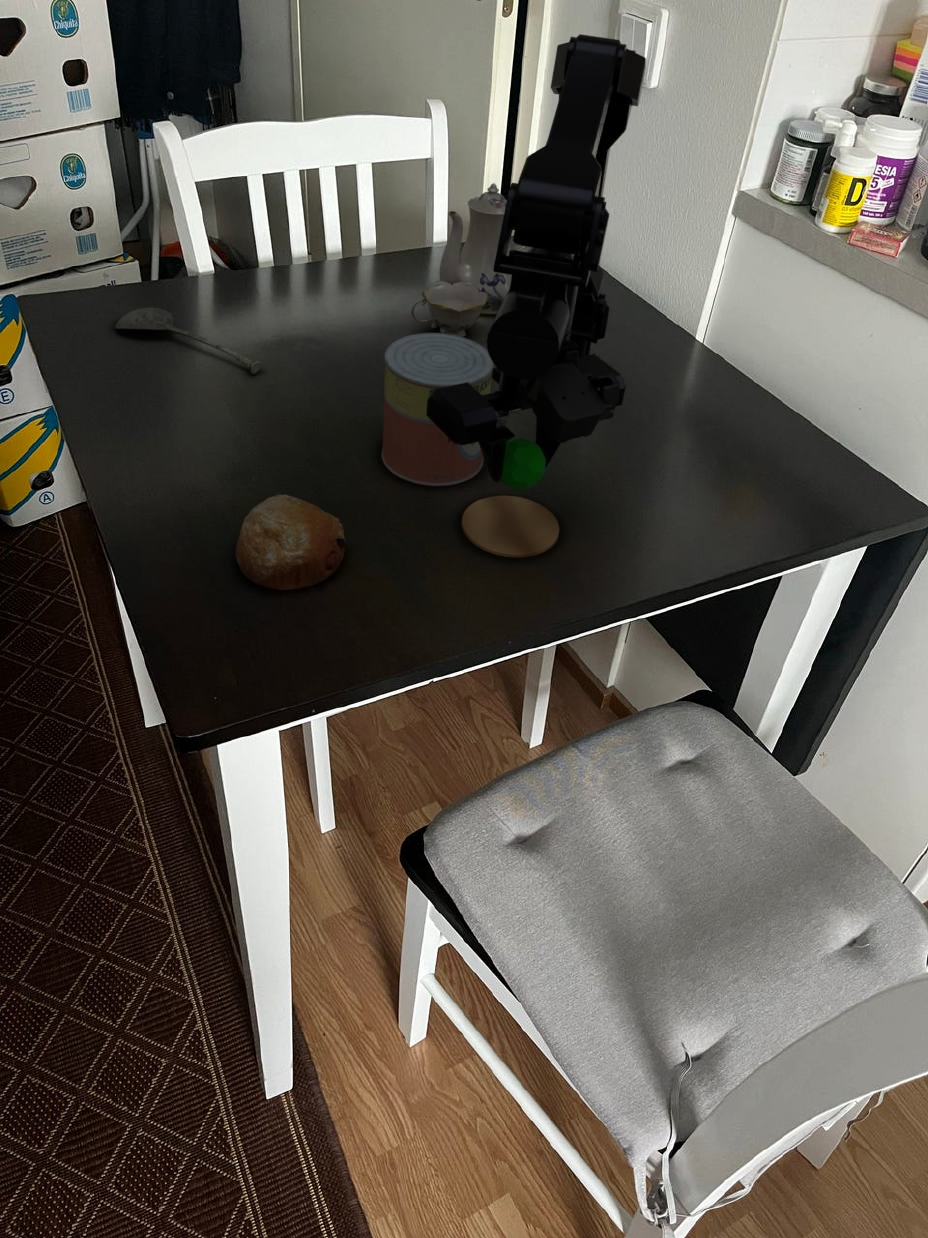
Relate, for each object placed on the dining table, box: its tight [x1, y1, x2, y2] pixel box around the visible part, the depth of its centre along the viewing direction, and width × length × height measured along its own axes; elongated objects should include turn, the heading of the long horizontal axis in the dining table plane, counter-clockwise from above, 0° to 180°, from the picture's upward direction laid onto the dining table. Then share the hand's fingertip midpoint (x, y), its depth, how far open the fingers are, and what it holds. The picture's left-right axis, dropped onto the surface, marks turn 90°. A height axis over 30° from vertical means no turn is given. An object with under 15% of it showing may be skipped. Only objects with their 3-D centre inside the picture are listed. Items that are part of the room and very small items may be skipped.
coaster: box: [461, 495, 560, 559], centre depth 101 cm, size 10×10×1 cm
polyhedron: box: [500, 437, 546, 491], centre depth 96 cm, size 5×5×5 cm
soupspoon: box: [114, 307, 262, 375], centre depth 123 cm, size 22×3×7 cm
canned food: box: [381, 332, 495, 487], centre depth 105 cm, size 11×11×12 cm
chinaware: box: [411, 182, 527, 337], centre depth 133 cm, size 28×17×17 cm, turn 127°
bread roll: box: [235, 494, 348, 591], centre depth 93 cm, size 10×10×8 cm
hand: (517, 473), depth 97 cm, fingers closed on polyhedron, 5 cm apart
